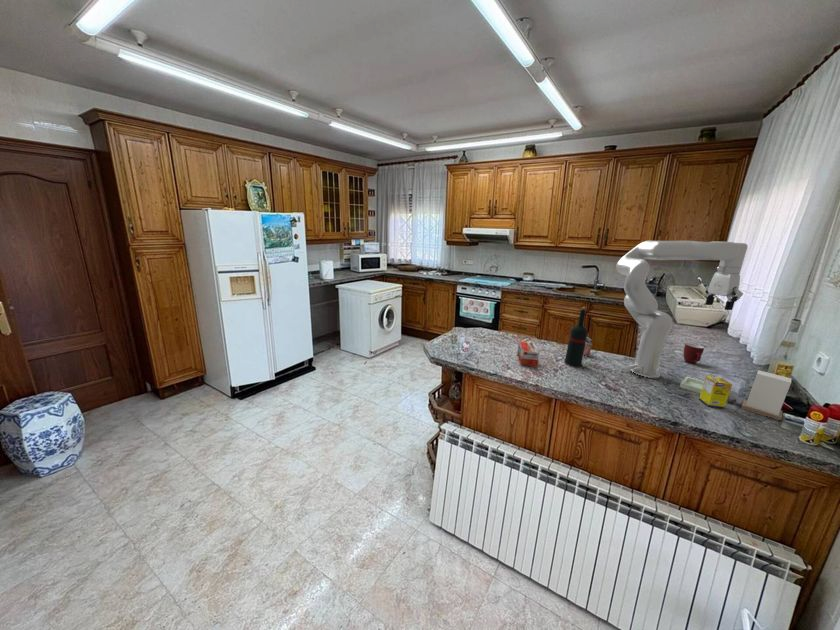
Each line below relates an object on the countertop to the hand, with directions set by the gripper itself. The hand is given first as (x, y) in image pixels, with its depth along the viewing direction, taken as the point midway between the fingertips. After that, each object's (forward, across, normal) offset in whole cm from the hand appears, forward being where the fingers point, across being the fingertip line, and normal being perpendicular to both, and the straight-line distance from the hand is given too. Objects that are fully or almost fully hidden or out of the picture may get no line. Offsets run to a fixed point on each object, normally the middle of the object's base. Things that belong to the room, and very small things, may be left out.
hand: (718, 307), depth 150 cm
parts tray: (+35, +13, -12) cm, 39 cm away
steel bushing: (+35, +24, -8) cm, 43 cm away
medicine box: (+34, -12, -82) cm, 90 cm away
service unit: (+35, +31, -2) cm, 47 cm away
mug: (+36, -17, +12) cm, 41 cm away
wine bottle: (+35, -11, -58) cm, 69 cm away
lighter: (+35, -24, -45) cm, 62 cm away
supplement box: (+35, +27, -19) cm, 48 cm away
